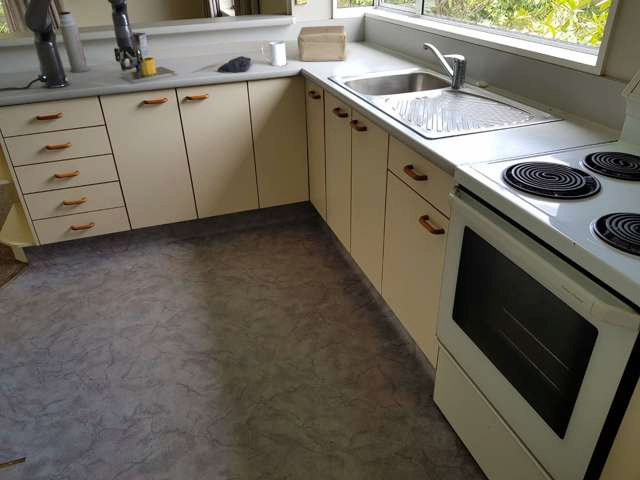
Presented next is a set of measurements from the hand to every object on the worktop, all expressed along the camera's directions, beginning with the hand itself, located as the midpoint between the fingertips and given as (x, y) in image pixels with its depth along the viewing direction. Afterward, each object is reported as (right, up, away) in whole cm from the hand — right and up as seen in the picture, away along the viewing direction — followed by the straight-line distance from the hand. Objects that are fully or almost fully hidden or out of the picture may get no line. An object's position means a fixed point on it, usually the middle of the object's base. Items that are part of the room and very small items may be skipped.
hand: (131, 71), depth 240 cm
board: (+4, +1, +11) cm, 11 cm away
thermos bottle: (-36, +9, +25) cm, 45 cm away
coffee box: (-7, +14, +32) cm, 35 cm away
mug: (+65, +13, +26) cm, 71 cm away
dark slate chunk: (+46, +9, +22) cm, 52 cm away
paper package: (+91, +21, +40) cm, 101 cm away
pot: (+2, +1, +7) cm, 7 cm away
